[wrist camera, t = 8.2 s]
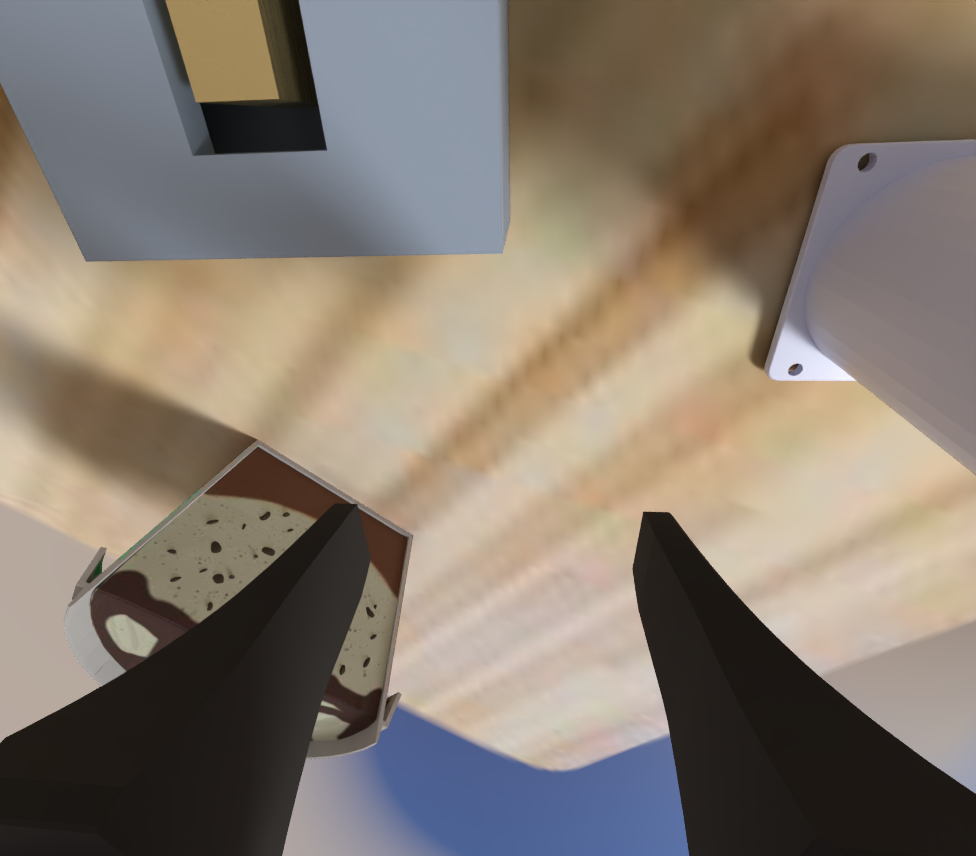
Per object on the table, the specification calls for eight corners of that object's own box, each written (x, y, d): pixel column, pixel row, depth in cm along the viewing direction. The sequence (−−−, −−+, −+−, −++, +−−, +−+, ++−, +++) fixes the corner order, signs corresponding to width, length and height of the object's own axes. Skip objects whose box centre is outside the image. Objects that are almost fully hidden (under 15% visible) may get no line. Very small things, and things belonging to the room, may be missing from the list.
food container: (184, 493, 25) (13, 675, 17) (228, 421, 23) (49, 597, 14) (376, 599, 29) (312, 792, 21) (435, 549, 26) (389, 749, 18)
